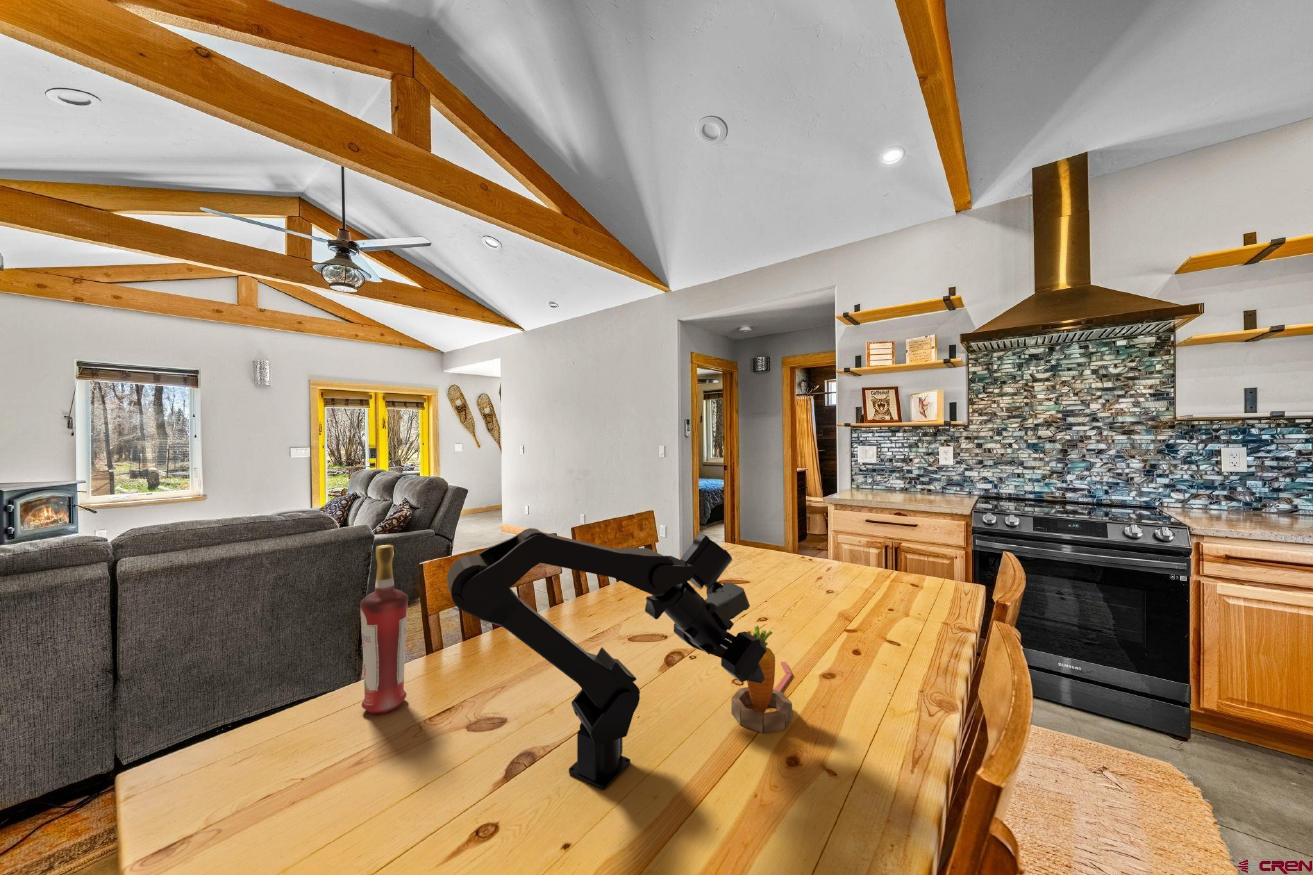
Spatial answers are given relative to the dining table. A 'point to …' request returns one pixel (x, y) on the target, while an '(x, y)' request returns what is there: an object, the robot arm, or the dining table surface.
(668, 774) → the dining table surface
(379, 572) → the liquor
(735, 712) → the bead ring
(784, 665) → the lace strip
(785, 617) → the dining table surface
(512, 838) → the dining table surface
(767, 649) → the carrot
